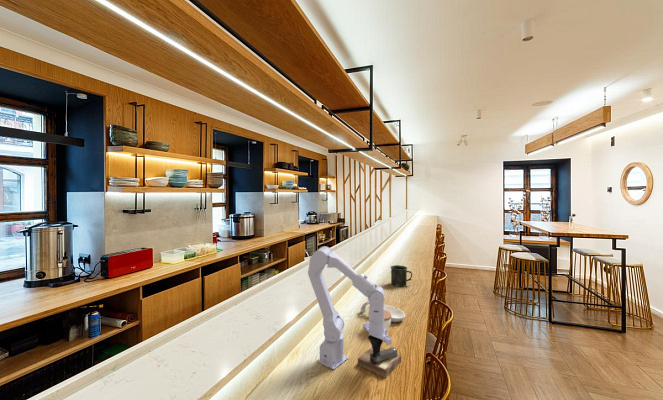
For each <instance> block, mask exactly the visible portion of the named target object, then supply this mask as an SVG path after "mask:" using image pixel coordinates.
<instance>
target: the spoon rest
mask: <svg viewBox="0 0 663 400" xmlns="http://www.w3.org/2000/svg"><path fill="white" fill-rule="evenodd" d="M367 305H370V303H369V301H366V302H365V303H363V304H362V306H361V307H360V313H361V314H362V313H364V312H365V311H366V309H367ZM384 310H386V311H389V312H390V313H391V323H397V322H401V321H403V320H404V318H405V317H406V313H405V312H404V310H401V309H399V308H398V307H394V306H391V305H389V304H388V305H387V304H386V303H384Z"/></svg>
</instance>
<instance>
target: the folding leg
mask: <svg viewBox="0 0 663 400" xmlns="http://www.w3.org/2000/svg"><path fill="white" fill-rule="evenodd" d="M385 349H386V350H383V351H379V352H376V353H372V354H370V361H371V362H372V363H373V364H376V363H379V362H382V361H385V360H388V359H391V358H394V357H397V354H398V349H397V347H394V346H392V347H390V348H385Z"/></svg>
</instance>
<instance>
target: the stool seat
mask: <svg viewBox="0 0 663 400" xmlns="http://www.w3.org/2000/svg"><path fill="white" fill-rule="evenodd" d="M386 349H387V348H383V347H382V346H381V347H380V351H383V350H386ZM372 353H373V348H372V346H370V348H368V349H367V350H366V351H365V352H364V353H362V354H361V355H360V356H359V357H357V366H360V367H362V368H364V369H366V370H369V371H371V372H373V373H376V374H378V375H379V376H382V377H384V378H387V377H389V375H390V374H391V373H393V371H394V370H395V369H396V368H397V367H398V366H399V365H400V364H401V363H402V355H401V354H399V353H397V357H394V358H391V359H388V360H385V361H382V362H379V363H376V364H373V363H372V362H371V361H370V354H372Z"/></svg>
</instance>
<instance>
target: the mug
mask: <svg viewBox="0 0 663 400" xmlns="http://www.w3.org/2000/svg"><path fill="white" fill-rule="evenodd" d="M390 270H391V271H390V275H391V276H390V278H391V280H390V281H391V282H390V283H391V285H392V286H394V287H399V288H400V287H406V286H407V285H408V284H407V282H410V281H411V280H412V278H413V273H412V271H410V270H408V267H407V266H405V265H400V264H399V265H397V264H395V265H391V266H390ZM408 273H409V274H410V277H409V278H408V277H407V275H408ZM407 278H408V279H407Z"/></svg>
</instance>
